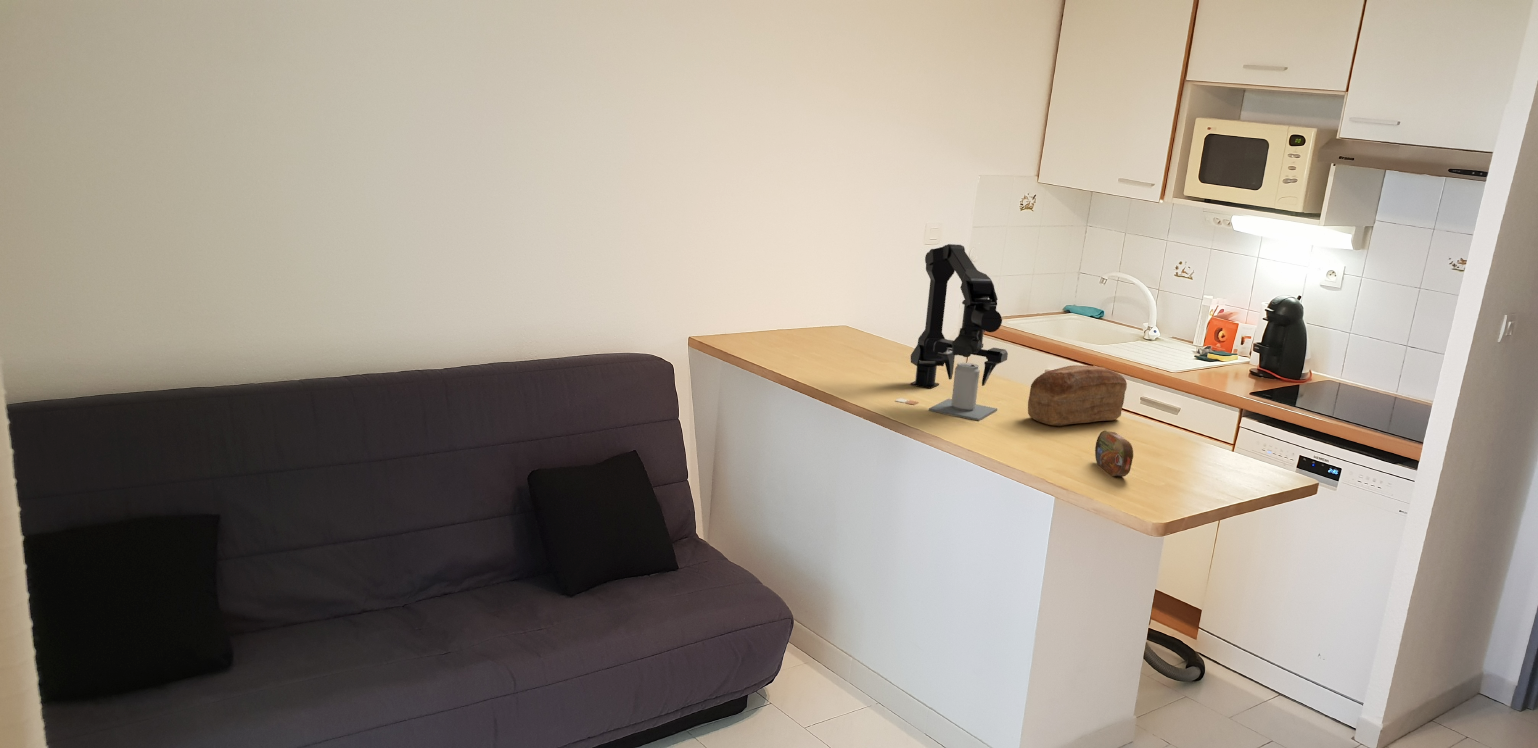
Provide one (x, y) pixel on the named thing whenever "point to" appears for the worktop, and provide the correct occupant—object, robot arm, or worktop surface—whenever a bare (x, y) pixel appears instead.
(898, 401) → the two-tone square tiles
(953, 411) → the slate mat
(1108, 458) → the tin
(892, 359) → the worktop surface
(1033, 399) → the bread
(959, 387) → the beverage can
